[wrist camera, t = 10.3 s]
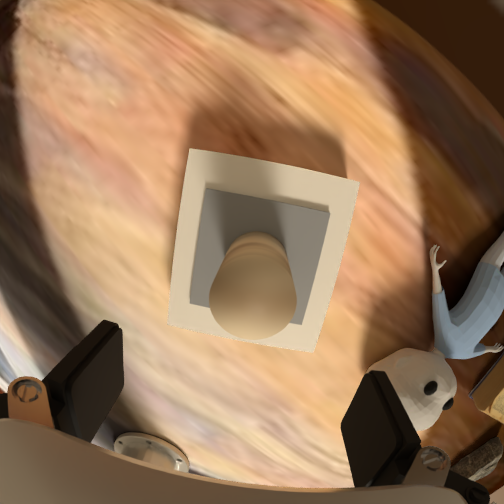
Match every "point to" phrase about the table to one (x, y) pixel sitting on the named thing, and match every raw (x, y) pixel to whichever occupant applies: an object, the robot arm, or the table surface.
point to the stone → (480, 460)
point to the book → (491, 391)
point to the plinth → (264, 220)
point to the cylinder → (253, 288)
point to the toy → (448, 340)
